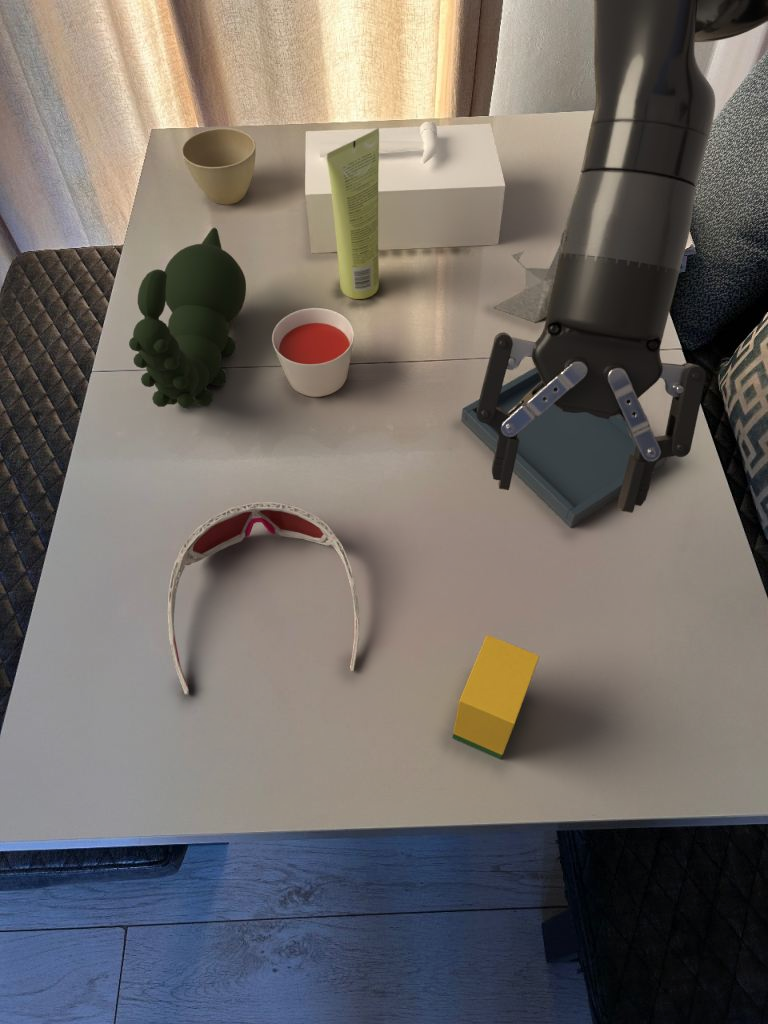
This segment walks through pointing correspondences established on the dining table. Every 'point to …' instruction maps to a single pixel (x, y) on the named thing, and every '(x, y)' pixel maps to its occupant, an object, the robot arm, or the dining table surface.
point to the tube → (356, 213)
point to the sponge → (494, 696)
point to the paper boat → (533, 292)
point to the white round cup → (314, 350)
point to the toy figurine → (188, 323)
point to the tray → (563, 453)
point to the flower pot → (221, 163)
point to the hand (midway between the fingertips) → (564, 498)
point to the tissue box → (416, 186)
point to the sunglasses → (239, 525)
